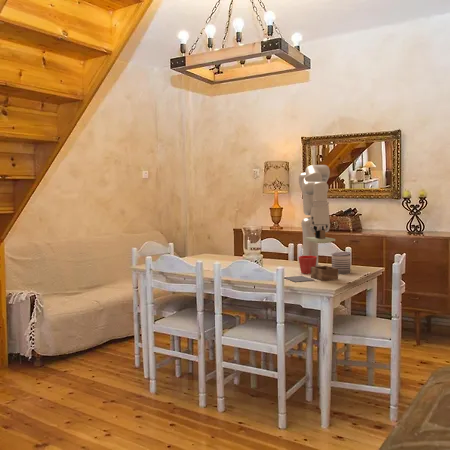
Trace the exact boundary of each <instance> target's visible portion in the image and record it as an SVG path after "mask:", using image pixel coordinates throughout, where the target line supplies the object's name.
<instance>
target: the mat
mask: <svg viewBox="0 0 450 450" xmlns="http://www.w3.org/2000/svg"><path fill="white" fill-rule="evenodd" d="M284 280H287V281H290V282H293V283H301V282H302V283H303V282H313V281H315V280H316V279H314V278H311V277H307V276H303V275H296V276H295V275H294V276H285V278H284Z"/></svg>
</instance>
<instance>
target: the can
mask: <svg viewBox="0 0 450 450" xmlns="http://www.w3.org/2000/svg"><path fill="white" fill-rule="evenodd" d="M351 254H352V253H351V252H350V251H336V252H332V253H331V267H333V268H337V269H338V275H350V274H351V267H352V266H351V265H352V264H351V263H352V262H351V261H352V259H351V256H352V255H351Z"/></svg>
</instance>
